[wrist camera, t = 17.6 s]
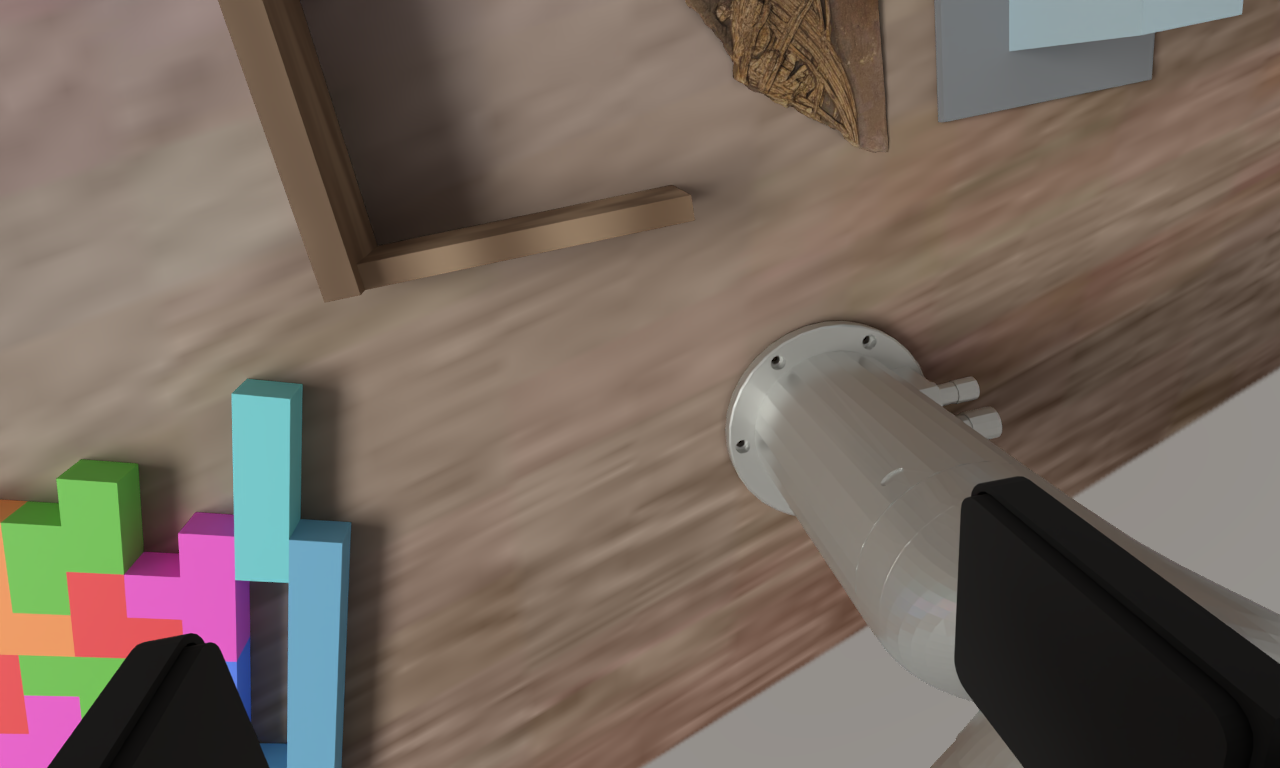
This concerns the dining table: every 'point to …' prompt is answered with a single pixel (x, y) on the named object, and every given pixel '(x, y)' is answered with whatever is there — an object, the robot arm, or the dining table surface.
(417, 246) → the open wooden box
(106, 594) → the tetris game
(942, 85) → the mat
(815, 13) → the fossil stone slab
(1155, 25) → the pale blue rectangular block
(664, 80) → the dining table surface
